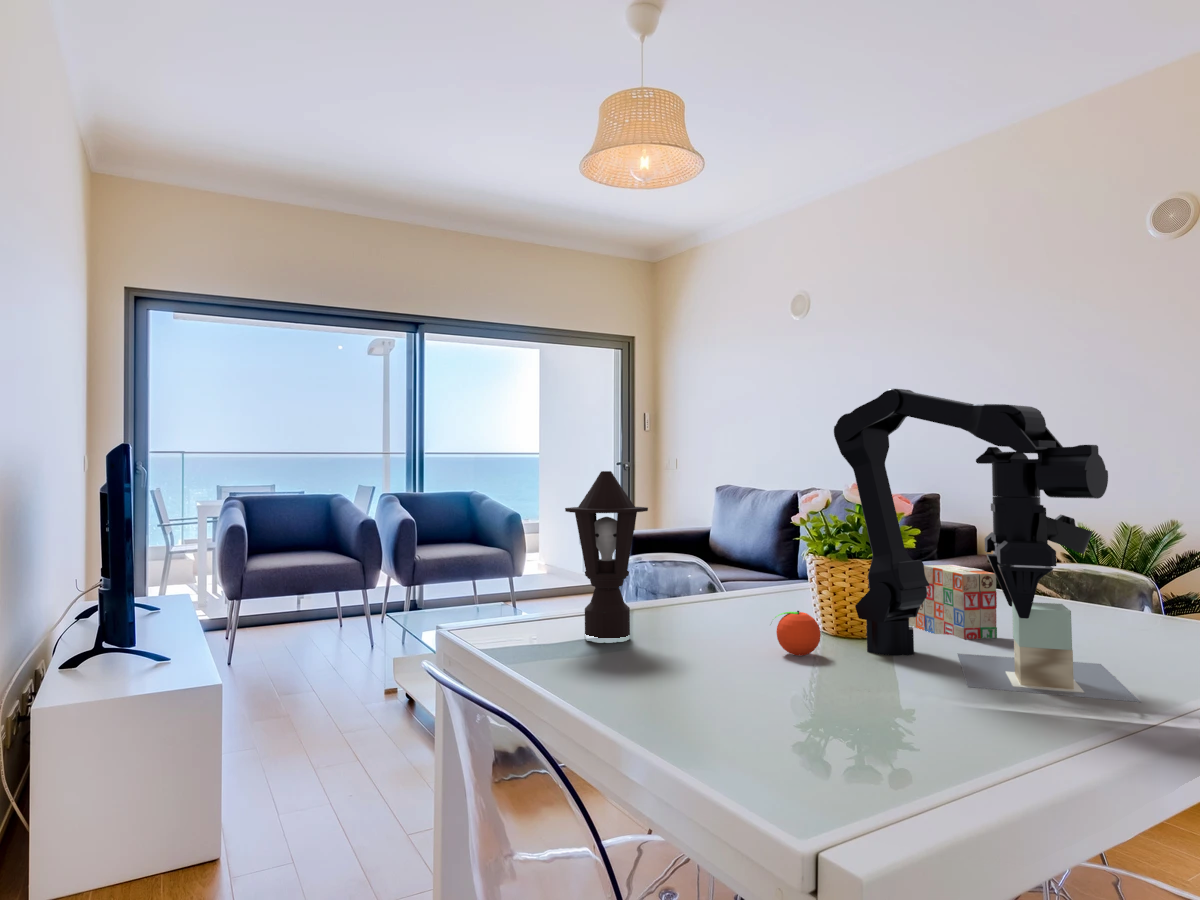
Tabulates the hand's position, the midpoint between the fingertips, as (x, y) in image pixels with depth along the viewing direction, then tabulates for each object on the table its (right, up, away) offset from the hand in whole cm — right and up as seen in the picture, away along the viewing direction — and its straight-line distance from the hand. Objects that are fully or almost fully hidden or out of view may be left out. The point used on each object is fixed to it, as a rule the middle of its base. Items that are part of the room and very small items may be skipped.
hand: (1018, 612), depth 102 cm
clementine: (-25, -11, +19) cm, 34 cm away
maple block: (+2, -9, -1) cm, 9 cm away
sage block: (+2, -4, -1) cm, 5 cm away
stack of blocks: (+7, -12, +36) cm, 39 cm away
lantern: (-55, -12, +33) cm, 65 cm away
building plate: (+4, -10, +2) cm, 11 cm away
